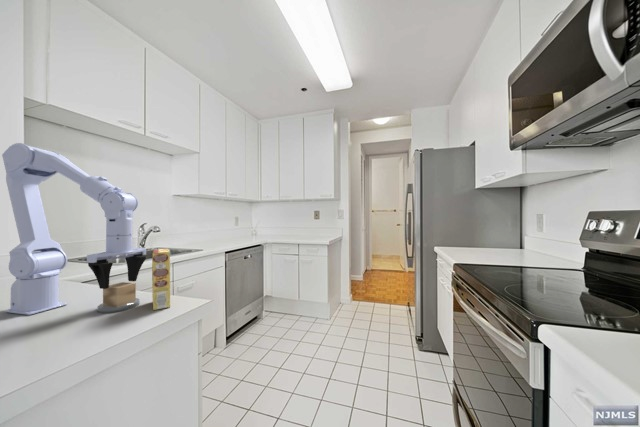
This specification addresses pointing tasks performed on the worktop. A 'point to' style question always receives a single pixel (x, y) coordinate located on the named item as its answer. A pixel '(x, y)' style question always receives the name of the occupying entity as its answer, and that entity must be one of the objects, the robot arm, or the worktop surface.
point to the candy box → (161, 278)
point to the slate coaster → (116, 309)
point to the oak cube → (119, 294)
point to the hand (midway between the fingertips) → (118, 284)
